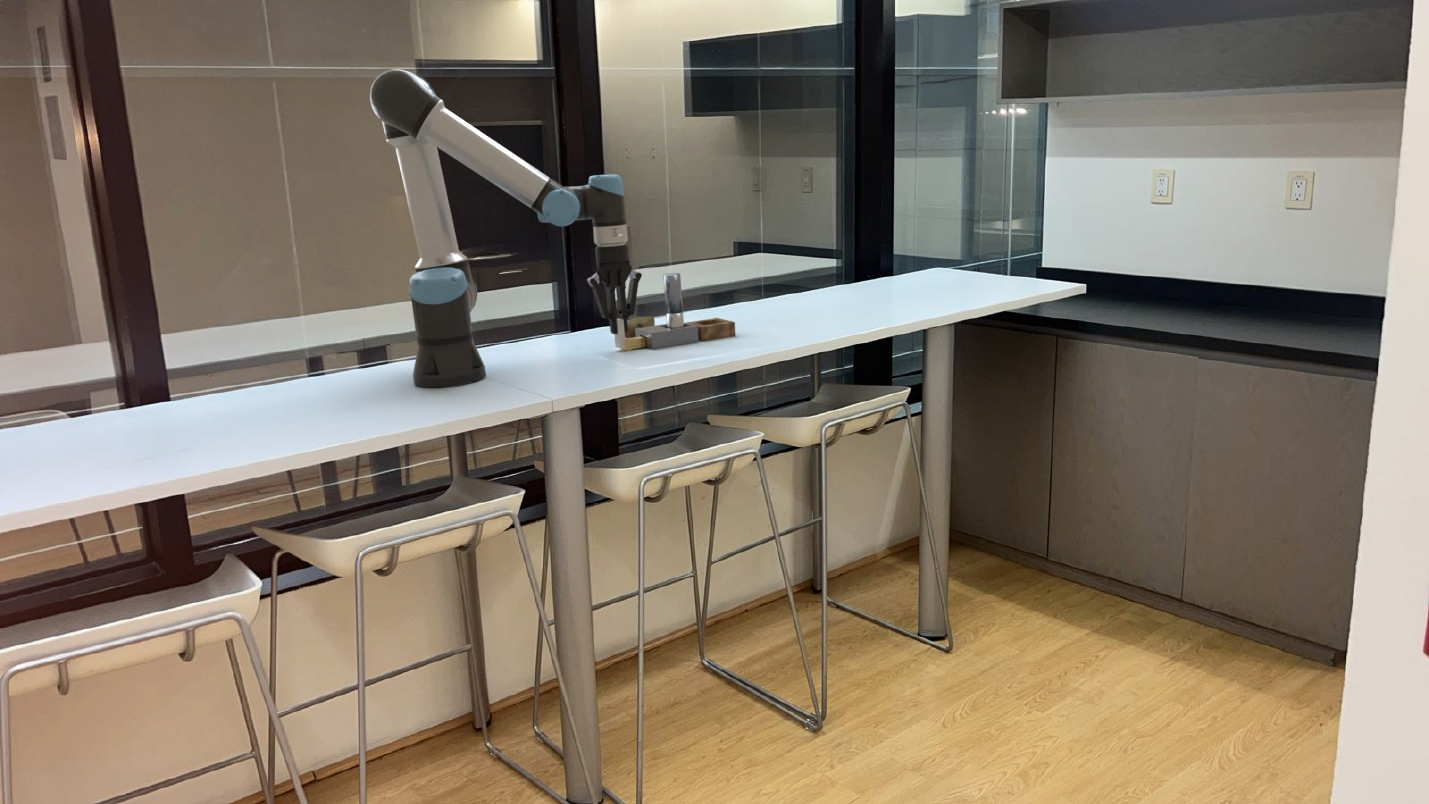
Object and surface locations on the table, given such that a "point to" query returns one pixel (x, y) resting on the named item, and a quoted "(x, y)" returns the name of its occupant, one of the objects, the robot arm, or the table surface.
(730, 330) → the brown wooden open box
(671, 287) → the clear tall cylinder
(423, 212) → the robot arm
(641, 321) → the stone block
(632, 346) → the tan wooden bar
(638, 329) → the socket
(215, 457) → the table surface
